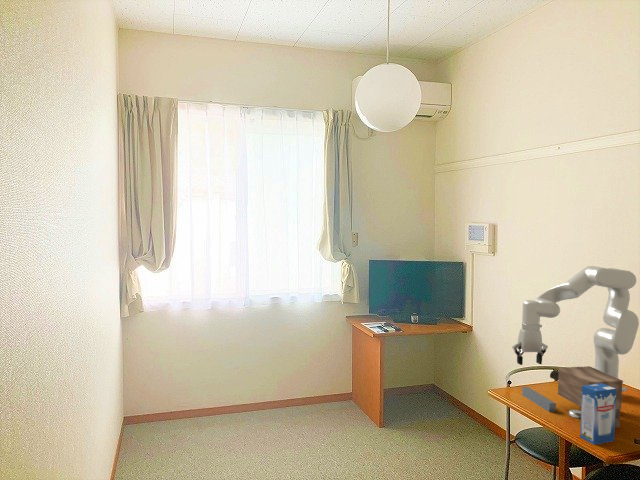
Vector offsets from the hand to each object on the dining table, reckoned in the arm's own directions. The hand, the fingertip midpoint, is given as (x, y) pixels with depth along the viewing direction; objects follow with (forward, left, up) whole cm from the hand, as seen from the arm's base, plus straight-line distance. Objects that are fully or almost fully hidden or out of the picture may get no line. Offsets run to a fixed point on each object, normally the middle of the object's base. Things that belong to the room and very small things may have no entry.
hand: (529, 363), depth 223 cm
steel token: (-8, +22, -16) cm, 28 cm away
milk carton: (-1, +43, -16) cm, 46 cm away
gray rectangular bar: (0, +7, -16) cm, 17 cm away
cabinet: (-10, +26, -16) cm, 32 cm away
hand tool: (-33, -16, -16) cm, 40 cm away
